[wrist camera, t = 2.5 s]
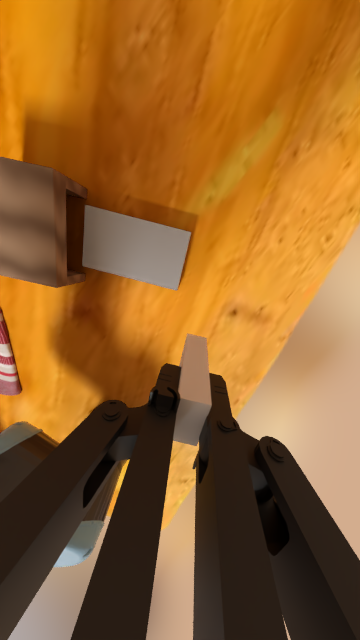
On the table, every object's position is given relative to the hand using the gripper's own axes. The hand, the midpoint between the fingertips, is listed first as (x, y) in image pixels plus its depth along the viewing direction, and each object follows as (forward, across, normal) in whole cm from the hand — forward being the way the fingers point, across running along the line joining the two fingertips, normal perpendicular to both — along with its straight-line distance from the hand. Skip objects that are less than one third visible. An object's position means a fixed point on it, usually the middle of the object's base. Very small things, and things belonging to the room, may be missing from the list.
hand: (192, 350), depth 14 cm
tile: (+23, +12, -5) cm, 27 cm away
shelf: (+23, +28, -5) cm, 36 cm away
